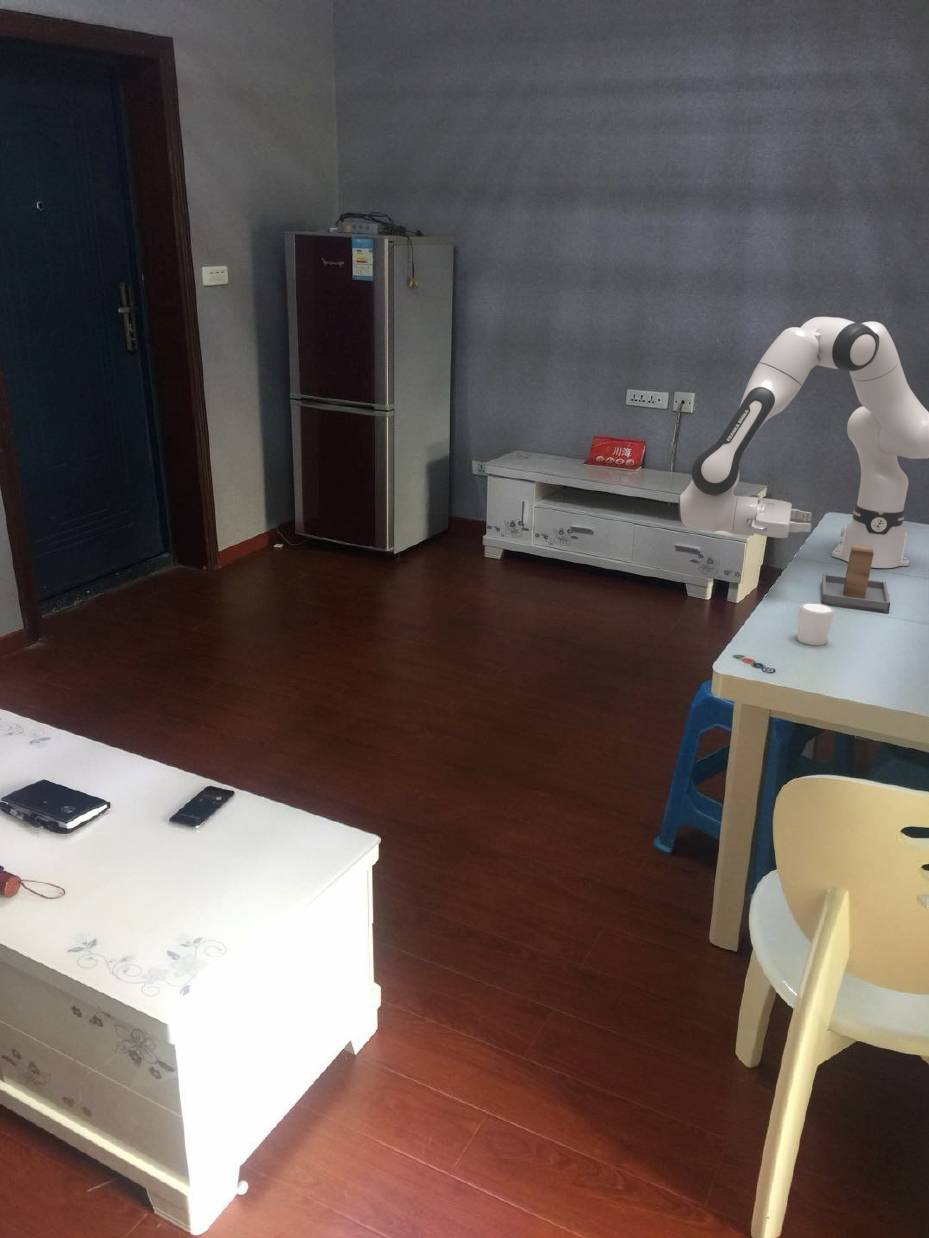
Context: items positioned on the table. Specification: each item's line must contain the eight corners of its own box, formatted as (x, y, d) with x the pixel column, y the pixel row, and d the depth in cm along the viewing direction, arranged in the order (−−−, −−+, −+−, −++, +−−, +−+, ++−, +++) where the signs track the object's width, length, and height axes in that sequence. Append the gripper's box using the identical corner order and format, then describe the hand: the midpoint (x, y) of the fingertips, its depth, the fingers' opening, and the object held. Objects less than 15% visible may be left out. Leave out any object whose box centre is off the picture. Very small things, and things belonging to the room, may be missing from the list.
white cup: (829, 636, 198) (835, 604, 196) (829, 648, 192) (835, 615, 189) (794, 631, 200) (799, 600, 198) (793, 643, 194) (799, 610, 191)
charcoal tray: (821, 583, 231) (822, 574, 230) (883, 591, 227) (885, 582, 226) (821, 604, 217) (823, 594, 216) (888, 613, 213) (890, 603, 212)
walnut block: (843, 590, 224) (851, 545, 220) (863, 593, 223) (872, 547, 219) (843, 596, 220) (852, 550, 216) (864, 599, 219) (873, 552, 215)
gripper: (747, 514, 213) (813, 520, 209) (752, 492, 231) (813, 498, 227) (743, 541, 216) (808, 548, 212) (749, 518, 234) (809, 524, 230)
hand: (811, 522), depth 220 cm, fingers open, 8 cm apart
